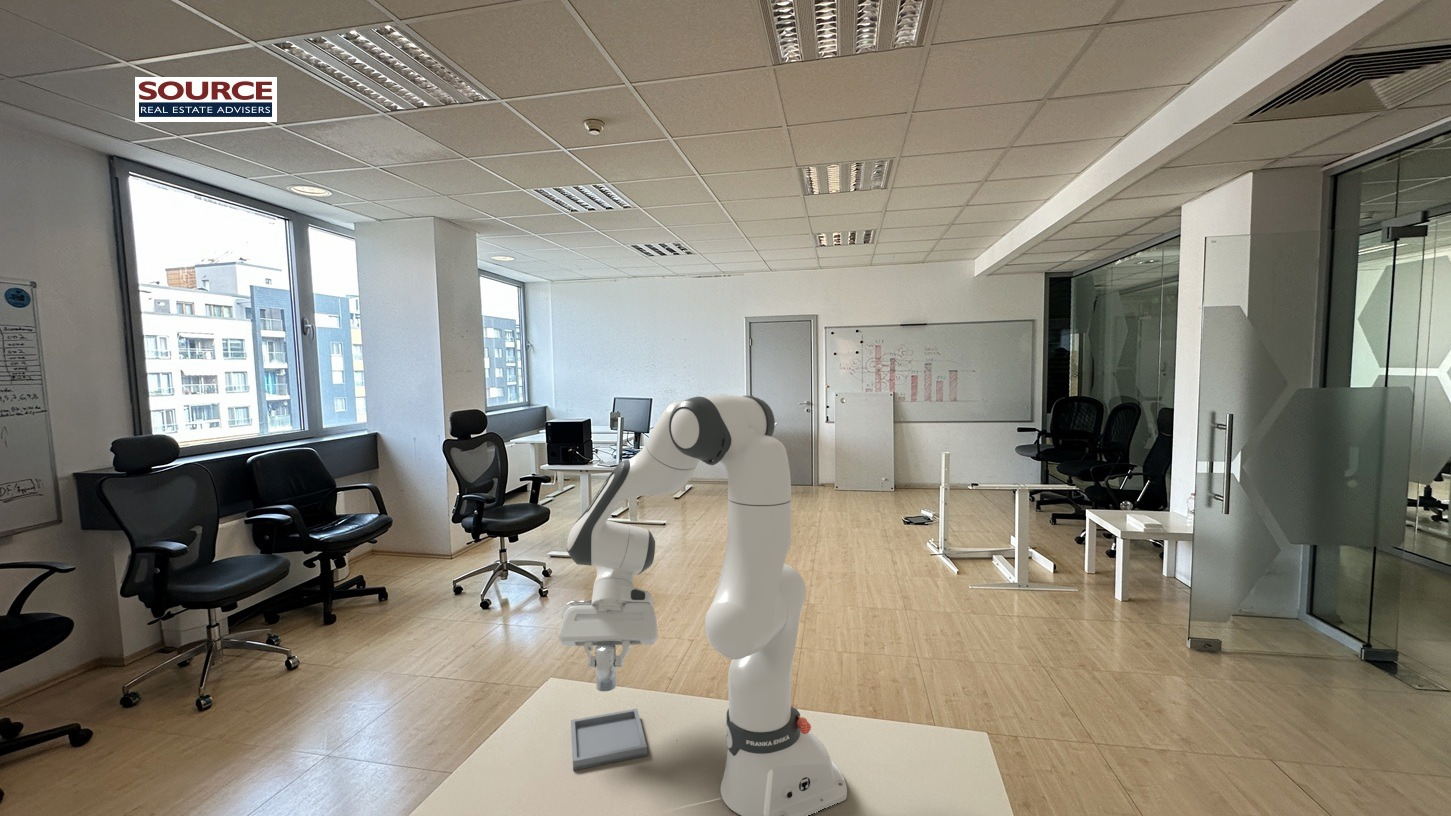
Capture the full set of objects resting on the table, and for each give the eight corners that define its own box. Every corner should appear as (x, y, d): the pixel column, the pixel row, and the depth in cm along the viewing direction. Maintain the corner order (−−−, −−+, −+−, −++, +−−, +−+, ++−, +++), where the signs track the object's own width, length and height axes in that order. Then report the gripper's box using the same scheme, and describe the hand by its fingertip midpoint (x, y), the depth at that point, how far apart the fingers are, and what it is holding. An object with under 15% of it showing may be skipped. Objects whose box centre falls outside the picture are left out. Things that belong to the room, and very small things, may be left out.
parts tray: (637, 716, 125) (637, 708, 125) (647, 755, 112) (646, 746, 112) (571, 728, 121) (570, 720, 121) (573, 770, 108) (572, 761, 108)
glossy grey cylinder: (615, 679, 119) (614, 641, 118) (617, 689, 115) (616, 650, 114) (595, 682, 117) (594, 644, 117) (597, 692, 114) (596, 653, 113)
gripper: (561, 594, 122) (549, 662, 113) (657, 592, 122) (654, 660, 113) (567, 606, 127) (556, 672, 117) (660, 604, 127) (656, 670, 118)
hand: (605, 666), depth 115 cm, fingers closed on glossy grey cylinder, 4 cm apart
